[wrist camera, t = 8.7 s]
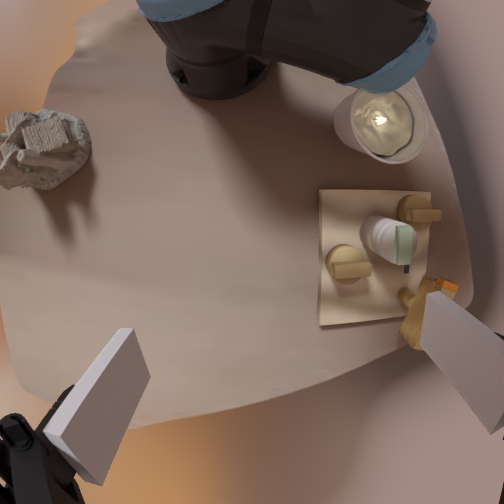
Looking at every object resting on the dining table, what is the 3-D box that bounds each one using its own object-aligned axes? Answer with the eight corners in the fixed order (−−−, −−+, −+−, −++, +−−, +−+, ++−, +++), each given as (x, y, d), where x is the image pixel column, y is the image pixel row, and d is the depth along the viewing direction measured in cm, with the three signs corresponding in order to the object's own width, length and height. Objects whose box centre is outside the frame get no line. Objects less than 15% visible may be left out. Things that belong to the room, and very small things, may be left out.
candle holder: (401, 133, 36) (442, 135, 25) (354, 168, 39) (385, 181, 28) (363, 80, 34) (395, 62, 23) (313, 115, 37) (331, 106, 26)
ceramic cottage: (96, 166, 38) (30, 158, 23) (32, 202, 40) (-29, 209, 25) (84, 85, 36) (27, 57, 21) (23, 128, 37) (-33, 119, 23)
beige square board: (318, 189, 39) (342, 192, 28) (424, 191, 39) (467, 197, 28) (316, 319, 44) (334, 359, 33) (414, 308, 44) (447, 339, 33)
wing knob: (385, 318, 41) (413, 348, 32) (409, 260, 39) (444, 280, 30) (400, 321, 42) (428, 351, 32) (423, 265, 39) (459, 285, 30)
